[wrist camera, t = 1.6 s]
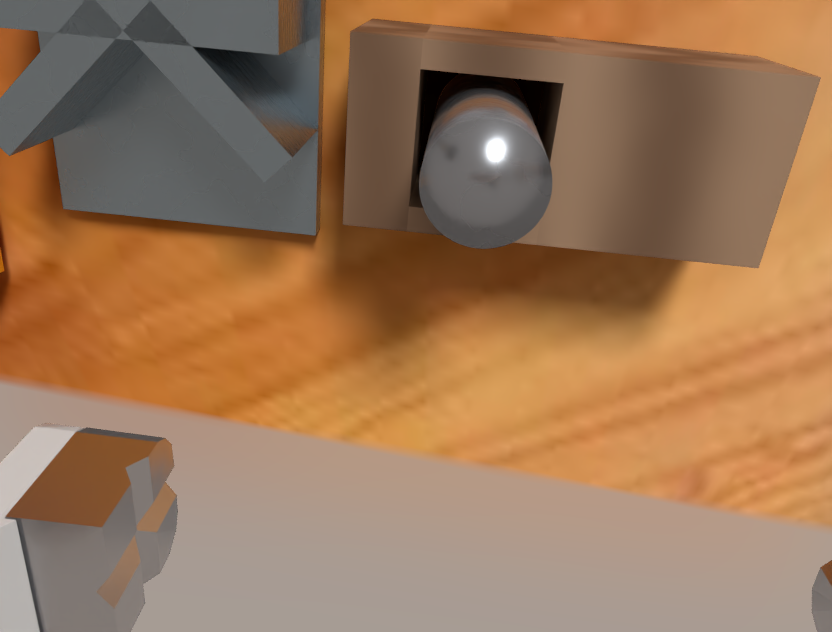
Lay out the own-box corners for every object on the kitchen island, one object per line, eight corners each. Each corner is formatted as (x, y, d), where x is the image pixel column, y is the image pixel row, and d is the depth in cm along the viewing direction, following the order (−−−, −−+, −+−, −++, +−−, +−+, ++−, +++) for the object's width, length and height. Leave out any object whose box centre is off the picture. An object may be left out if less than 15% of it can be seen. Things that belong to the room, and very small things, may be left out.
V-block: (327, -53, 29) (293, -57, 23) (319, 228, 34) (291, 278, 29) (34, -81, 29) (-65, -91, 24) (73, 202, 34) (0, 246, 29)
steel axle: (533, 72, 30) (563, 126, 20) (519, 165, 32) (540, 254, 22) (440, 63, 30) (425, 111, 21) (431, 156, 32) (413, 241, 22)
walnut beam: (757, 56, 29) (820, 77, 24) (711, 217, 32) (758, 268, 27) (372, 18, 30) (350, 31, 24) (363, 181, 33) (342, 224, 28)
